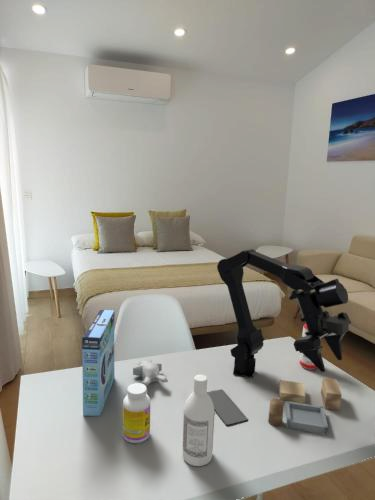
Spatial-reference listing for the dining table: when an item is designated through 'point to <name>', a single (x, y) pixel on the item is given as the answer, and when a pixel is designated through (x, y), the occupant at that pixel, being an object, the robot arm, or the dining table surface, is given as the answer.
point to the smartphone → (226, 408)
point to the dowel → (276, 412)
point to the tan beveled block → (292, 391)
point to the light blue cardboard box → (98, 362)
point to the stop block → (331, 394)
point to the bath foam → (198, 424)
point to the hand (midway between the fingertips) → (332, 365)
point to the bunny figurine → (149, 372)
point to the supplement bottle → (136, 414)
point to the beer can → (303, 359)
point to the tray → (306, 417)
